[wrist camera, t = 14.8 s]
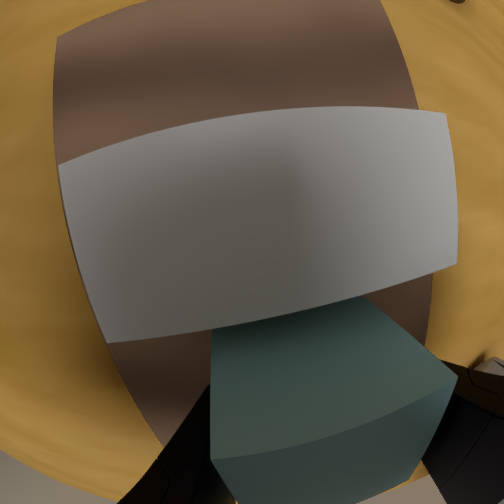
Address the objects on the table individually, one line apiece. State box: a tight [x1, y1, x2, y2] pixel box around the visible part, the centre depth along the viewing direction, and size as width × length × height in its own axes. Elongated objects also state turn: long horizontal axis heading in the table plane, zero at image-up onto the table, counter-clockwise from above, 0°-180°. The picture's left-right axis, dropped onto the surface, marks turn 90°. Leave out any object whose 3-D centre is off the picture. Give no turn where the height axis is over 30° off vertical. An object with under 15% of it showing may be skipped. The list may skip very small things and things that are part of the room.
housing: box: [58, 106, 458, 343], centre depth 7 cm, size 4×9×4 cm, turn 100°
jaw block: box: [210, 295, 458, 504], centre depth 7 cm, size 4×4×6 cm
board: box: [53, 0, 433, 500], centre depth 8 cm, size 20×14×5 cm
